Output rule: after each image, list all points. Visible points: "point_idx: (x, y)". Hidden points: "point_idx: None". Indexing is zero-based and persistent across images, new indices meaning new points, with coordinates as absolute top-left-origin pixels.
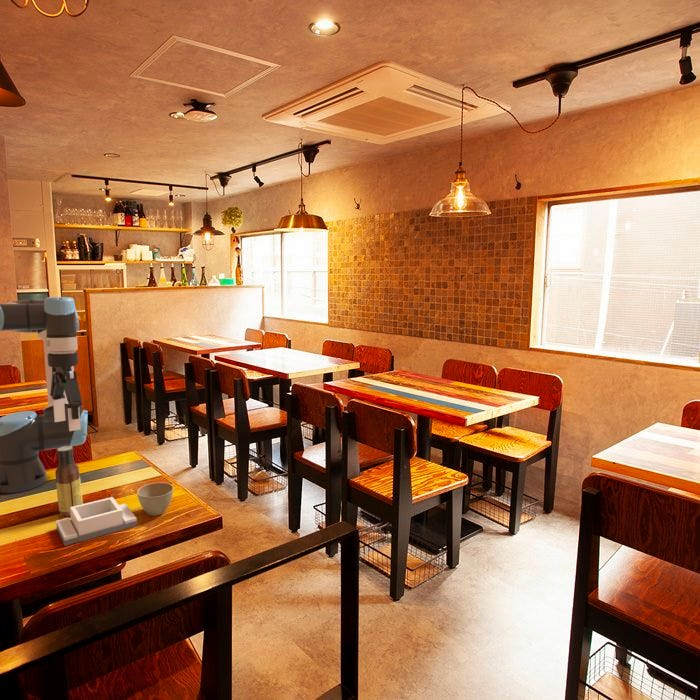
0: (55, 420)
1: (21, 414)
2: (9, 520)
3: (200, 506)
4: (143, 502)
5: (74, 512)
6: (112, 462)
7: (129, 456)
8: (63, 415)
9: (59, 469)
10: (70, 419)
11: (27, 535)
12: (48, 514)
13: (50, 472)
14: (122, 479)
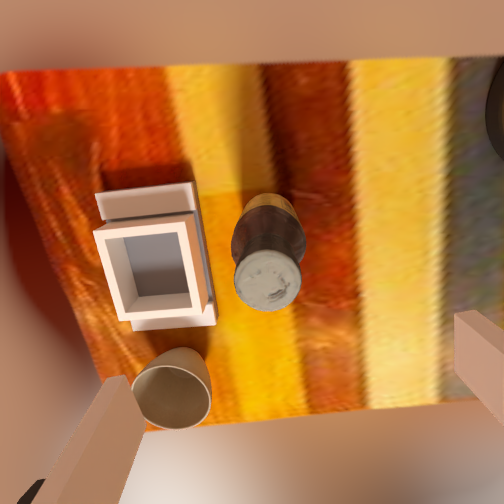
0: (463, 322)
1: None
2: (299, 71)
3: None
4: (152, 361)
5: (147, 228)
6: None
7: None
8: (483, 394)
9: (252, 228)
10: (61, 463)
11: (189, 116)
12: (284, 167)
13: None
14: (398, 339)
